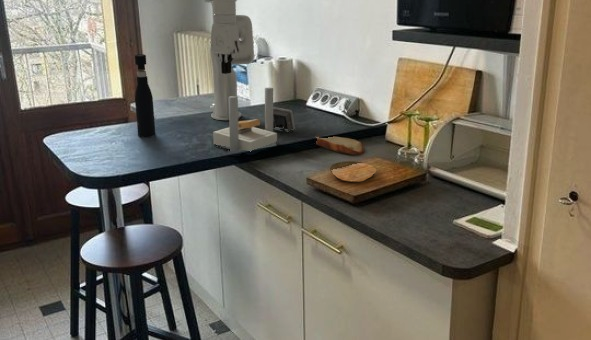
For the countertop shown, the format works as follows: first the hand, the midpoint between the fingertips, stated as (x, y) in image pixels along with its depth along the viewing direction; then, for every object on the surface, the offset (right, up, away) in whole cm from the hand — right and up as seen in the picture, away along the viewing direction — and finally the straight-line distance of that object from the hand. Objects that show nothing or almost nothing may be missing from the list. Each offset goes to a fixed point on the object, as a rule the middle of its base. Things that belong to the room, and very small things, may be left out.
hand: (226, 73), depth 201 cm
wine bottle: (-32, -21, +15) cm, 41 cm away
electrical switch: (+19, -19, +22) cm, 35 cm away
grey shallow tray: (+6, -25, +4) cm, 27 cm away
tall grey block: (+15, -24, +9) cm, 29 cm away
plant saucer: (+42, -36, -22) cm, 60 cm away
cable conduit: (+3, -29, -5) cm, 29 cm away
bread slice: (+40, -27, +4) cm, 48 cm away
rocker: (+6, -18, +1) cm, 19 cm away
